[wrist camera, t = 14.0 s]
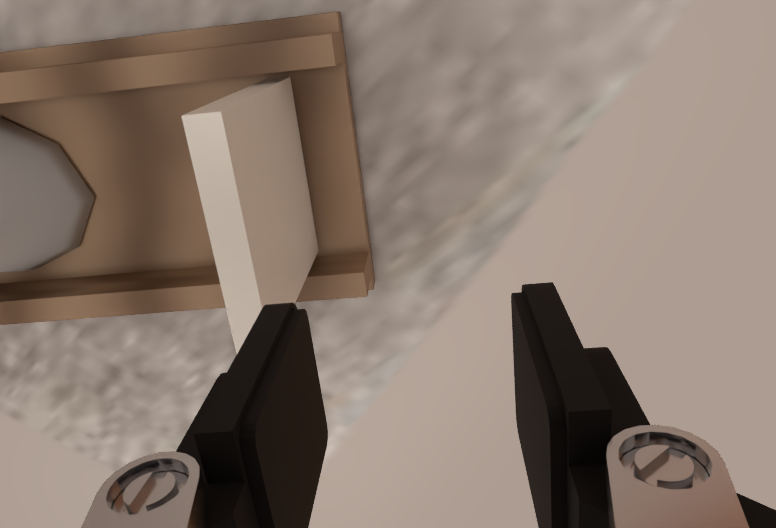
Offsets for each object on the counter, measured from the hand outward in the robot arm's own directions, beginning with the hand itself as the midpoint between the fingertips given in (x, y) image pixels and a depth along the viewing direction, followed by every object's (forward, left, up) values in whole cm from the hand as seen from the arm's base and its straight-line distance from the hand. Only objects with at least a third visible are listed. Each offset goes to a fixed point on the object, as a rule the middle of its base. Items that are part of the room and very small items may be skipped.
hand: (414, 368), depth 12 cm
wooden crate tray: (-14, 0, -19) cm, 24 cm away
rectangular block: (-6, 0, -18) cm, 19 cm away
